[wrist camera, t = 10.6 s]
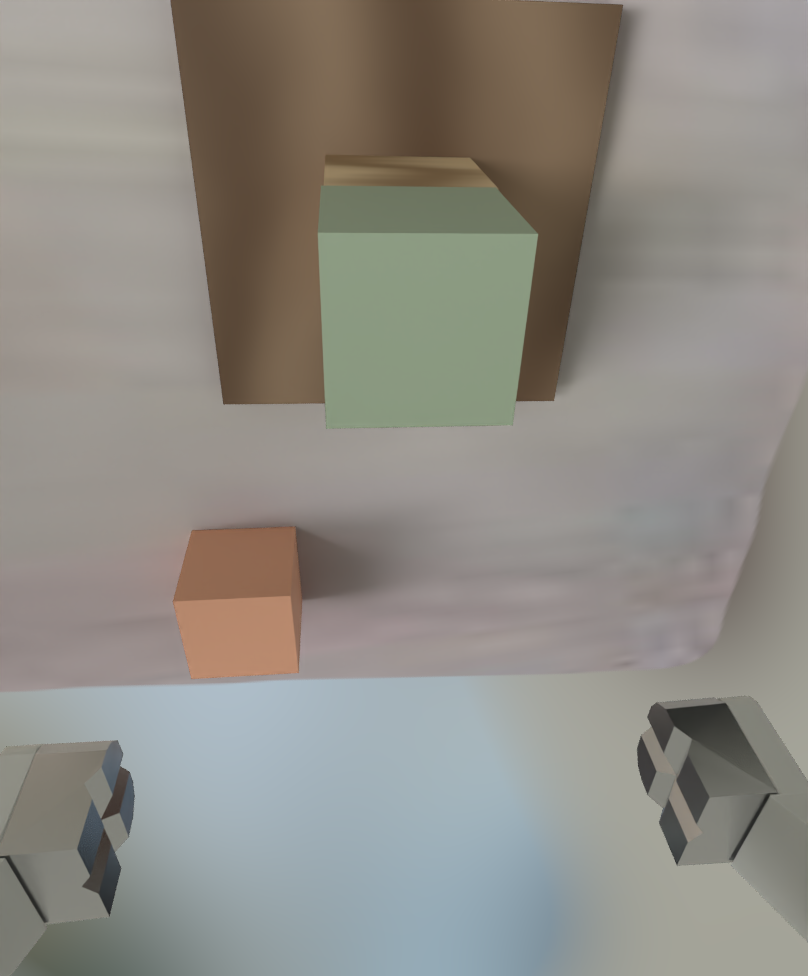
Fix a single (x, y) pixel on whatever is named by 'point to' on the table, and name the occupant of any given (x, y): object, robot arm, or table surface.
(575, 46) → the walnut board
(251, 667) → the terracotta block
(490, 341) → the sage block
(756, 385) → the table surface
